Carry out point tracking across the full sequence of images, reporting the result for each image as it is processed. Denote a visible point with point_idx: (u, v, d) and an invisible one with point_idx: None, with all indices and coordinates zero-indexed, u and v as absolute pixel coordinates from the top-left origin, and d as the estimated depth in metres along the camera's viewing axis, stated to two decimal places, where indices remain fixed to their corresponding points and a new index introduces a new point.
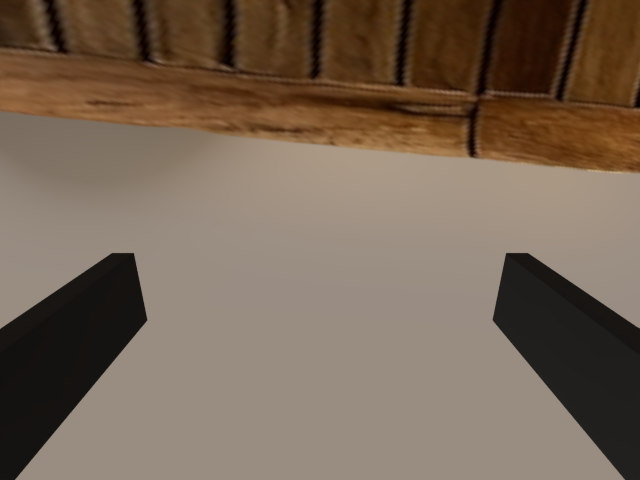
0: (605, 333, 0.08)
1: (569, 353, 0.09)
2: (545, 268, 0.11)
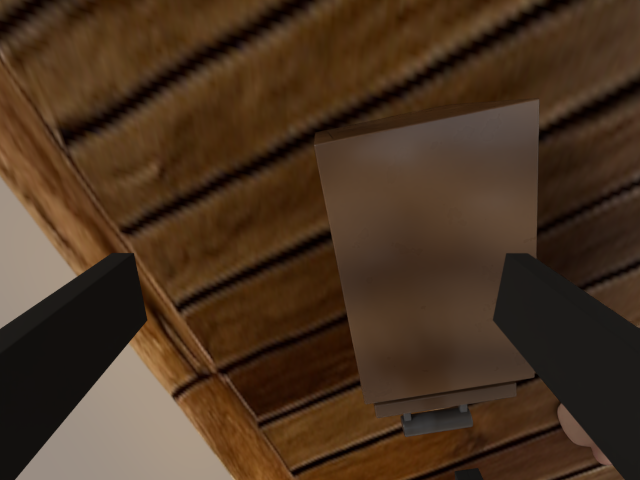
0: (605, 333, 0.08)
1: (568, 353, 0.09)
2: (545, 268, 0.11)
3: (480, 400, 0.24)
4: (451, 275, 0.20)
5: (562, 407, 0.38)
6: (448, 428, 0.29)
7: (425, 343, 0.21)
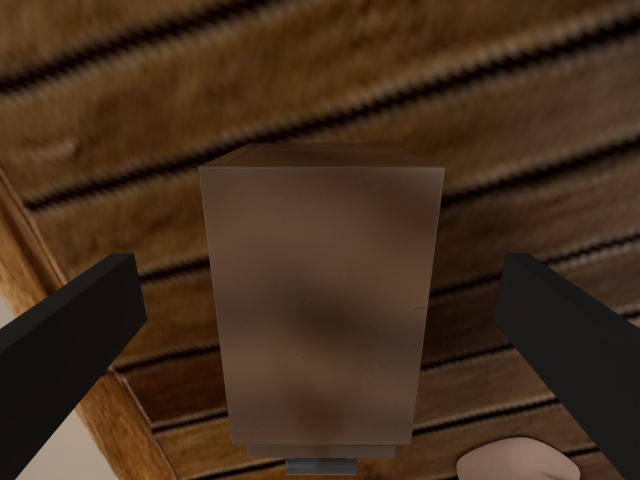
0: (605, 333, 0.08)
1: (569, 353, 0.09)
2: (545, 268, 0.11)
3: (357, 456, 0.23)
4: (335, 330, 0.18)
5: (461, 461, 0.38)
6: (331, 473, 0.28)
7: (301, 393, 0.20)
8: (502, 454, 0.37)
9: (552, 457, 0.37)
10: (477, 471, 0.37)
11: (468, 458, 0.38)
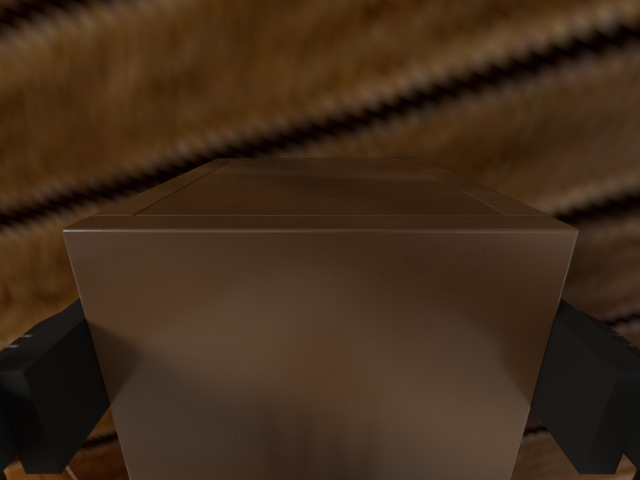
0: None
1: None
2: None
3: None
4: None
5: None
6: None
7: None
8: None
9: None
10: None
11: None
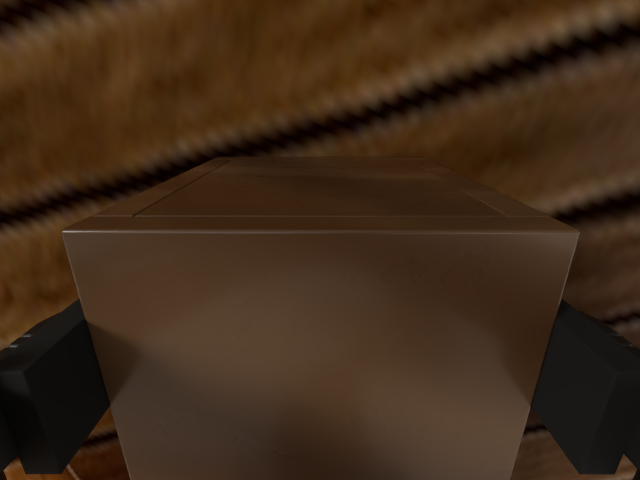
0: None
1: None
2: None
3: None
4: None
5: None
6: None
7: None
8: None
9: None
10: None
11: None
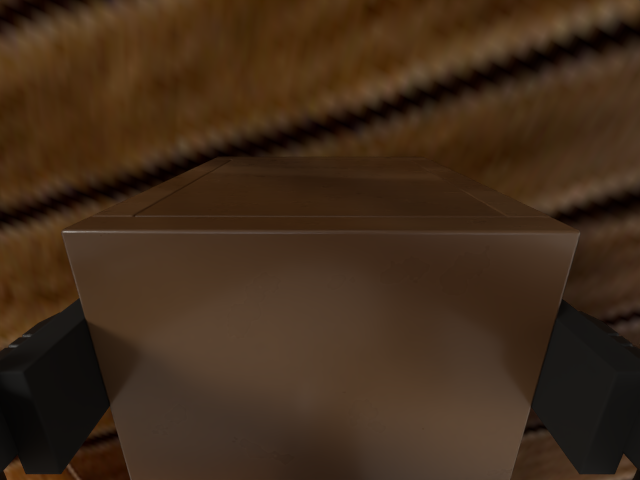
0: None
1: None
2: None
3: None
4: None
5: None
6: None
7: None
8: None
9: None
10: None
11: None
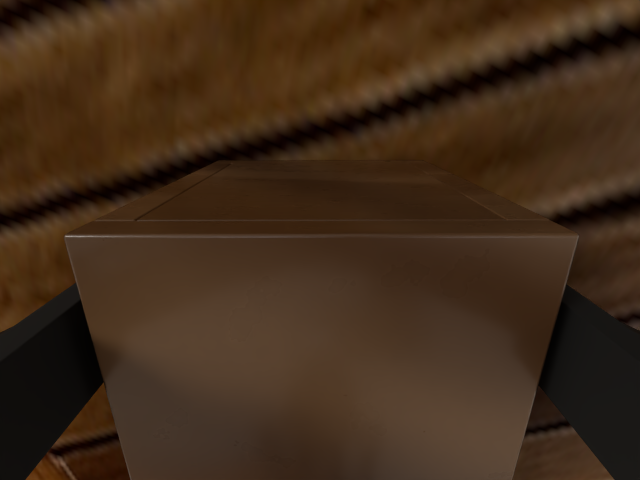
0: (590, 328, 0.08)
1: (555, 349, 0.09)
2: None
3: None
4: None
5: None
6: None
7: None
8: None
9: None
10: None
11: None
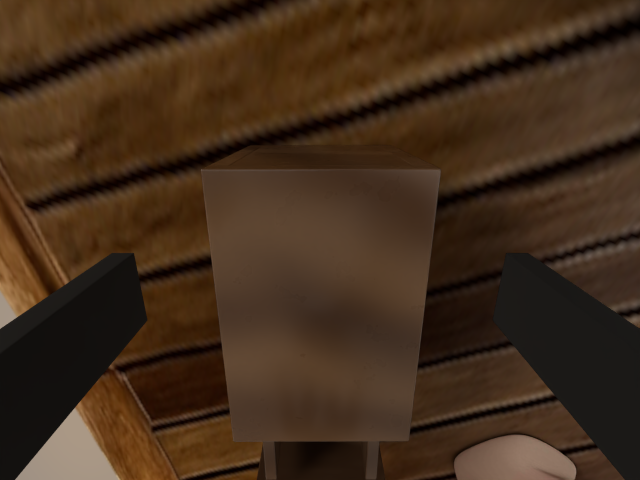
0: (605, 333, 0.08)
1: (569, 353, 0.09)
2: (545, 268, 0.11)
3: None
4: (334, 328, 0.19)
5: (459, 458, 0.38)
6: None
7: (301, 391, 0.20)
8: (499, 451, 0.37)
9: (548, 454, 0.38)
10: (474, 468, 0.38)
11: (465, 455, 0.38)
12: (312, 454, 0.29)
